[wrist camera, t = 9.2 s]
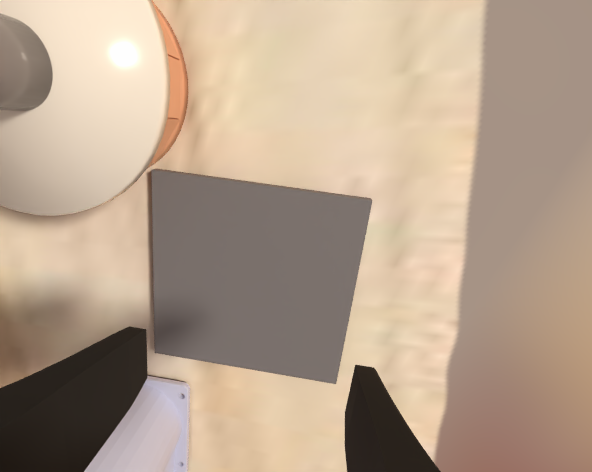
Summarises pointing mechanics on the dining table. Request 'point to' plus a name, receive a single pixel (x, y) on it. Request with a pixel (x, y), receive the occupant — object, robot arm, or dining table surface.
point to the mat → (254, 272)
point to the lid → (78, 101)
